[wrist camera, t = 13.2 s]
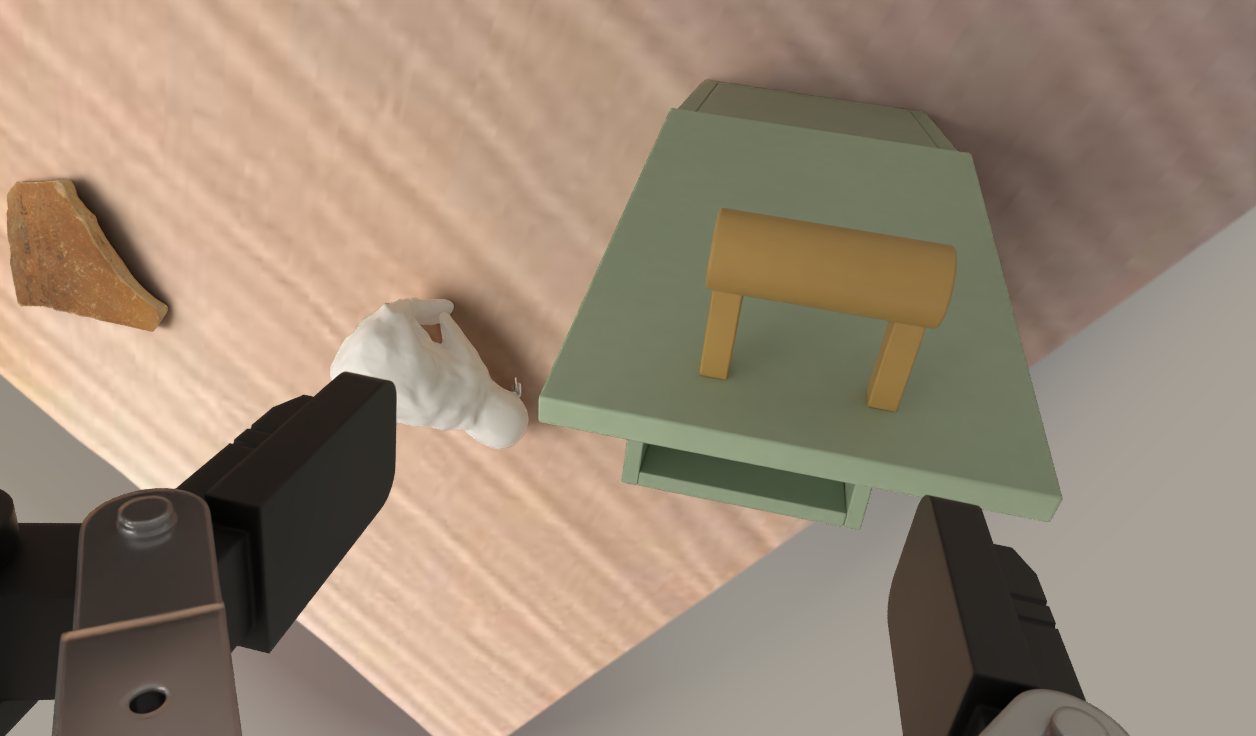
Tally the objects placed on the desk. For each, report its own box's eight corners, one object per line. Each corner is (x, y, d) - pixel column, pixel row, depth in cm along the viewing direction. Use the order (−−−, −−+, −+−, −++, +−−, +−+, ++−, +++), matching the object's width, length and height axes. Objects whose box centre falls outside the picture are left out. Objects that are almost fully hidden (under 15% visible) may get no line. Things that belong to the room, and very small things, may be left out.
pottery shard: (176, 324, 59) (151, 338, 57) (61, 331, 61) (33, 345, 59) (121, 170, 55) (92, 179, 53) (0, 182, 57) (-33, 191, 55)
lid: (1050, 525, 19) (1153, 340, 16) (537, 423, 20) (539, 234, 17) (965, 172, 33) (1010, 39, 30) (668, 126, 35) (682, -6, 31)
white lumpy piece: (356, 320, 46) (534, 452, 49) (409, 262, 53) (561, 379, 56) (299, 395, 49) (471, 516, 51) (357, 330, 56) (505, 438, 59)
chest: (848, 408, 52) (860, 531, 41) (660, 373, 54) (621, 482, 42) (925, 112, 45) (966, 160, 33) (703, 79, 46) (670, 115, 35)
